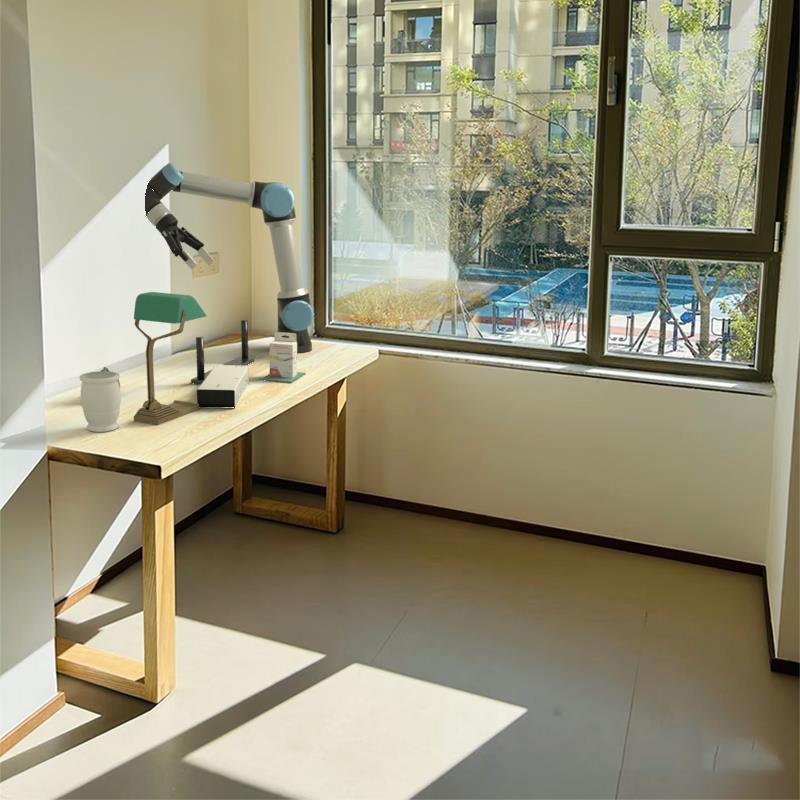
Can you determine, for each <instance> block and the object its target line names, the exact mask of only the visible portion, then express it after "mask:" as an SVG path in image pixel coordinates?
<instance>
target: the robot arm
mask: <svg viewBox="0 0 800 800" xmlns="http://www.w3.org/2000/svg"><path fill="white" fill-rule="evenodd" d="M150 179H151V180H150ZM150 179H149V180H150V181H149V180H148V181H149V183H148V185H147V189H146V193H145V195H146V196H145V211H146V216H147V217H146V216H145V217H146V219H147V218H148V219H147V220H148V222H149V221H150V222H151V223H150V222H149V223H150V224H151V225H153V226H154V227H155V229H156V230H157V231H158V232H159V234H161V235H160V236H162V237H163V238H164V241H165V242H166V244H167V246H168V248H169V250H170V252H171V253H172V254H173V255H174V257H176V258H177V257H180V258H181V259H182V261H183V262H184V263H185V264H186V265H187V267H188V268H190V270H191V271H192V270H194V269H195V268H196V267H197V265H198V263H197V262H196V261H195V259H193V257H192V256H191V255H190V254H189V253H188V252H187V251H186V250H185V249H183V246H182V243H184V244H186V245H187V246H189V247H191V249H194V250H195V251H196V253H197V254H198V255H199V257H201V259H202V260H204V262H205V263H206V264H207V266H209V267H210V266H211V265H212V264H213V263H214V262H215V261H216V260H215V259H214V258H213V257H212V256H211V255H210V254H209V252H208V251H207V250H206V249H205V248H204V246H205V244H204V243H203V242H202V241H201V240H200V239H198V238H196V236H194V235H193V234H192V233H191V232H189V231H188V230H187V229H186V228H185V227H183V226H182V227H179V226H178V225H179V221H178V219H177V218H176V217H175V216H174V214H172V213H171V211H170V210H169V208H167V207H166V206H165V204H163V202H162V201H161V200H162V199H164V197H166V195H168V194H169V193H171V192H173V193H174V192H175V193H182V194H188V195H193V196H198V197H206V198H209V199H210V198H212V199H217V200H218V199H219V200H223V201H230V202H234V203H240V204H245V205H248V207H250V208H254V209H259V210H261V211H262V217H263V221H264V225H266V226H267V227H268V228H269V232H270V238H271V243H272V249H273V254H274V259H275V266H276V270H277V277H278V281H279V289H280V291H278V293H277V298H276V301H277V331H276V332H283V333H295V334H296V341H297V354H300V353H301V354H302V353H308V352H310V351H313V343H312V340H311V337H310V333H309V331H308V328H309V327H310V326H311V324H312V323H313V321H314V318H315V317H314V316H315V315H314V309H313V307H312V304H311V299H310V292H309V290H307V289H306V288H305V287H304V282H303V276H302V270H301V269H302V268H301V265H300V259H299V258H300V257H299V254H298V253H299V251H298V247H297V240H296V234H295V229H294V222H295V221H296V219H297V217H296V215H297V214H296V211H295V200H296V199H295V196H294V193H293V191H292V190H291V189H290V187H288V186H287V185H286V184H285V183H282V182H274V181H272V182H261V181H255V180H254V181H252V182H251V183H249V182H244V181H239V180H238V181H237V180H232V179H227V178H222V177H221V178H220V177H215V176H210V175H209V176H208V175H204V174H199V173H198V174H197V173H191V172H185V171H180V170H179V169H178V168H177V167H176V166H175V165H174V164H173V163H171V162H168V163H166V165H164V166H163V167H161V169H159V171H158V172H156V174H154V175H153V176H152V177H151V178H150ZM152 189H153V190H154V191H153V190H152ZM171 190H173V191H171ZM148 212H149V213H148ZM281 337H283V338H289V336H286V335H284V336H281Z"/></svg>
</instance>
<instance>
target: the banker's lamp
mask: <svg viewBox="0 0 800 800" xmlns="http://www.w3.org/2000/svg"><path fill="white" fill-rule="evenodd" d="M206 317H208V315H207V314H206V312H205V310H204V309H203V308H202V307H201V305H200V304H199V302H198V300H197V299H196V298H195V297H193V296H192V295H187V294H177V293H170V292H169V293H168V292H158V291H157V292H155V291H149V292H143V293H139V294H138V295H137V296H136V298H135V302H134V313H133V320H134V326H135V328H136V329H137V330H138V331H139V332H140V333H141V334H142V335H143V336H144V337H145V338H146V339H147V342H146V346H145V347H146V348H145V359H146V360H145V361H146V381H147V383H146V384H147V400H145V401H144V402H143V404H142V407H141V408H139V409H137V412H135V414H134V415H133V422H135V423H136V422H137V423H141V424H142V423H143V424H150V425H155V426H161V425H163V424H166V423H168V422H170V421H173V420H175V419H178V418H180V417H183V416H186V415H188V414H190V413H194V412H196V411H199V410H200V408H199V403H197V402H192V401H185V400H184V401H183V400H176V399H174V400H173V402H172V403H169V404H164V403H163V404H162V403H161V402H159V401H158V400H157V399H155V398H156V397H155V372H154V345H155V342H157V341H158V340H161V339H162V340H163V339H165V338H169V337H172V336H176V335H180V334H181V333H183V331H184V329H185V328H184V327H185V323H186V322H189V321H194V320H198V319H201V318H206ZM140 321H147V322H148V321H149V322H156V323H157V322H158V323H166V324H172V325H173V324H174V325H175V324H179V327H178V329H176V330H175V331H172V332H169V333H165V334H163V335H159V336H156V337H154V338H152V337H151V336H149V334H147V333H146V332H145V331H143V330H142V329H141V328H140V326H139V325H140ZM198 409H199V410H198Z"/></svg>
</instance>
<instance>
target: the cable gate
mask: <svg viewBox="0 0 800 800" xmlns="http://www.w3.org/2000/svg"><path fill="white" fill-rule="evenodd" d="M248 324H249V321H248V319H241V320H240V332H241V334H240V335H241V339H240V340H241V341H240V342H241V345H240V346H241V356H238V357H236V358H234V359H231V360H230V361H228V362H225V363H222V365H243V366H246V365H247V366H249V365H251V364H253V363H255V358H254V357H249V327H248V326H249V325H248ZM195 345H196V346H195V347H196V348H195V349H196V352H195V353H196V376H195V377H193V378H191V379H190V384H191V383H194V384H193V385H198V384H202V383H203V381H204V380H205V379H206V377H207V376H208V375H209V373H210V372H211V371H212V369H210V370H208V371H206V372H205V343H204V336H197V337H195ZM252 362H253V363H252ZM250 363H251V364H250ZM248 364H249V365H248Z"/></svg>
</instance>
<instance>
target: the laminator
mask: <svg viewBox="0 0 800 800" xmlns="http://www.w3.org/2000/svg"><path fill="white" fill-rule="evenodd" d="M211 370H212V371H211V372H210V373H209V375H208V376H207V377H206V379H205V380H204V381H203V383H202V384H201V385H199V387H198V388H197V390H196V403H199V407H234V408H233V409H236V408H237V406H238V404H239V402H240V400H241V398H242V397H241V395H242V393H243V392H245V391H246V389H247V387H248V385H249V384H250V365H247V366H243V365H223V364H215V365H214V367H213V368H212V369H211ZM247 384H248V385H247ZM246 386H247V387H246ZM245 388H246V389H245ZM244 390H245V391H244ZM243 394H244V393H243ZM242 396H243V395H242ZM240 397H241V398H240ZM239 399H240V400H239ZM238 401H239V402H238ZM237 403H238V404H237ZM236 405H237V406H236ZM235 407H236V408H235Z"/></svg>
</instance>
